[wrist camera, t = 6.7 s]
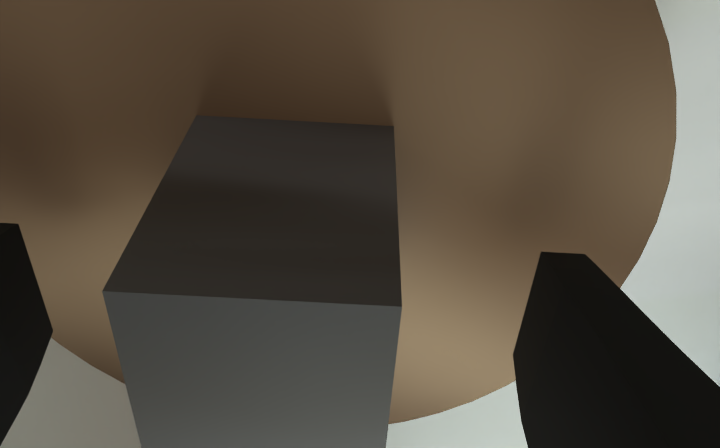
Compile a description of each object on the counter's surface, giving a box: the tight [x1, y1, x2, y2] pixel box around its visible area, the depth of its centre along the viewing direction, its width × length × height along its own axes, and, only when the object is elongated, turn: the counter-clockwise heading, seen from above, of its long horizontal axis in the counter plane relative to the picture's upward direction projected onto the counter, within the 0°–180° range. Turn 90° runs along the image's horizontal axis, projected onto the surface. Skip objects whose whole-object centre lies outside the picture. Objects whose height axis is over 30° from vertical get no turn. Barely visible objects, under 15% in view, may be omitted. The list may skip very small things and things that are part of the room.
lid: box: [0, 0, 676, 448], centre depth 9 cm, size 12×12×5 cm
